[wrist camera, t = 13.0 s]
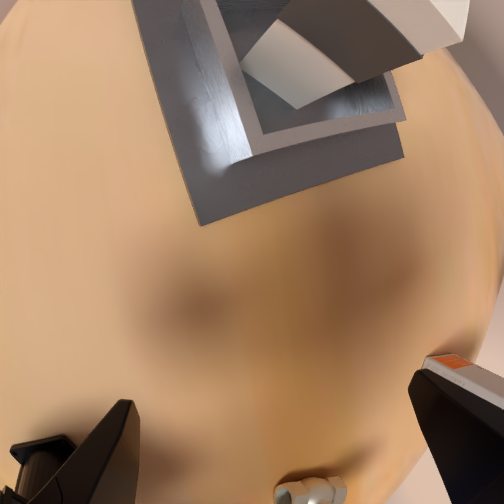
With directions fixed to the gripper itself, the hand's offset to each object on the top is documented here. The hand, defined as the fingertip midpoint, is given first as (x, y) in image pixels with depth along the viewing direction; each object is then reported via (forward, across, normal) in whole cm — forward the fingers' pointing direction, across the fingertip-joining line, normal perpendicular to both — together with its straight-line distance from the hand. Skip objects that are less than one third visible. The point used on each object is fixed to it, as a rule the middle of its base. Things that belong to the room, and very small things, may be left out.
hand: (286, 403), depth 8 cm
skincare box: (+13, -21, +15) cm, 29 cm away
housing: (+14, -2, -12) cm, 18 cm away
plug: (+14, -2, -12) cm, 18 cm away
